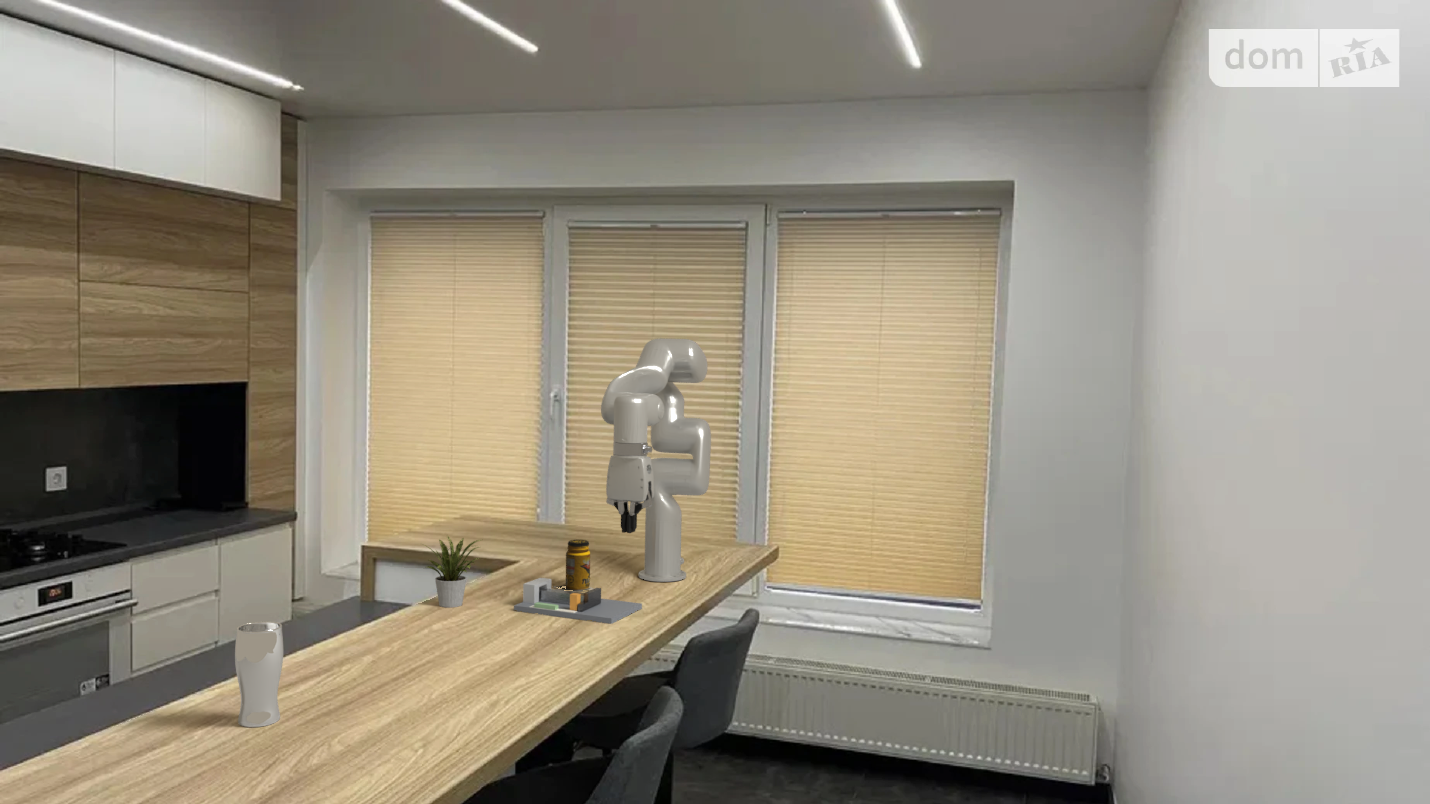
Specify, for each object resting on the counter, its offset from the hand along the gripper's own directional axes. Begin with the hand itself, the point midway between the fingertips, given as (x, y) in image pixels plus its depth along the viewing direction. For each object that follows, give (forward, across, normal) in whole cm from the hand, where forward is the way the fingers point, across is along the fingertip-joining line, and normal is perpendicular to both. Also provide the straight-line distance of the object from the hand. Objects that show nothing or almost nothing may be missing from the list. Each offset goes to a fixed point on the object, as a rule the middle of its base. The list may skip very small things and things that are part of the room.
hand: (628, 531), depth 231 cm
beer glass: (+19, +22, +84) cm, 89 cm away
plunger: (+18, +16, +1) cm, 24 cm away
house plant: (+19, +40, +9) cm, 45 cm away
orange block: (+18, +11, +5) cm, 21 cm away
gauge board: (+19, +12, 0) cm, 23 cm away
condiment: (+19, +24, -18) cm, 36 cm away
